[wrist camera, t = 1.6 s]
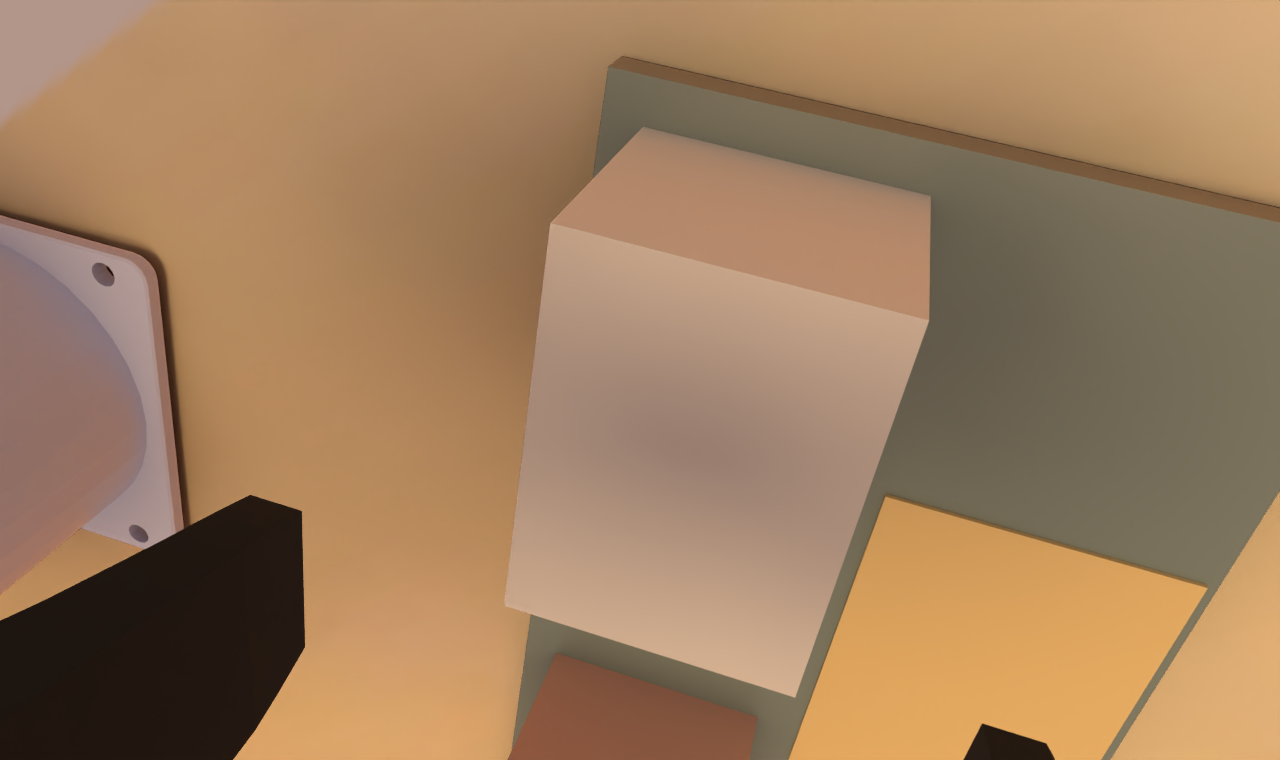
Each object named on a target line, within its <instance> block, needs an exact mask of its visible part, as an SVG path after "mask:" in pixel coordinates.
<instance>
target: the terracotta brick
mask: <svg viewBox="0 0 1280 760" xmlns="http://www.w3.org/2000/svg"><path fill="white" fill-rule="evenodd" d="M757 719H758V717H755V716H752V715H749V714H746V713H742V712H739V711H736V710H733V709H730V708H727V707H724V706H721V705H717V704H714V703H711V702H708V701H705V700H702V699H699V698H696V697H692V696H689V695H686V694H683V693H680V692H677V691H674V690H671V689H667V688H664V687H661V686H658V685H655V684H652V683H649V682H646V681H642V680H639V679H636V678H633V677H630V676H627V675H624V674H621V673H617V672H614V671H611V670H608V669H605V668H602V667H599V666H596V665H592V664H589V663H586V662H583V661H580V660H577V659H574V658H571V657H567V656H564V655H561V654H558V653H556V655H555V657H554V659H553V662H552V664H551V666H550V668H549V670H548V673H547V675H546V677H545V679H544V681H543V684H542V686H541V688H540V690H539V692H538V694H537V697H536V699H535V701H534V703H533V705H532V708H531V710H530V712H529V714H528V716H527V719H526V721H525V723H524V725H523V727H522V729H521V732H520V734H519V736H518V738H517V740H516V743H515V745H514V747H513V749H512V751H511V753H510V756H509V758H508V760H749V759H750V754H751V749H752V744H753V739H754V734H755V729H756V724H757Z"/></svg>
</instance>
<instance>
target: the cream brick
mask: <svg viewBox="0 0 1280 760" xmlns="http://www.w3.org/2000/svg"><path fill="white" fill-rule="evenodd" d="M930 220H931V196H929V195H925V194H921V193H917V192H912V191H908V190H904V189H900V188H896V187H892V186H887V185H883V184H879V183H875V182H871V181H867V180H862V179H858V178H854V177H850V176H846V175H842V174H837V173H833V172H829V171H825V170H821V169H817V168H812V167H808V166H804V165H800V164H796V163H792V162H787V161H783V160H779V159H775V158H771V157H767V156H763V155H758V154H754V153H750V152H746V151H742V150H738V149H733V148H729V147H725V146H721V145H717V144H713V143H708V142H704V141H700V140H696V139H692V138H688V137H683V136H679V135H675V134H671V133H667V132H663V131H658V130H654V129H650V128H646V127H642V128H641V129H640V131H639V132H638V133H637V134H636V135H635V136H634V137H633V138H632V139H631V140H630V141H629V142H628V143H627V144H626V145H625V146H624V147H623V148H622V149H621V150H620V151H619V152H618V153H617V154H616V155H615V156H614V157H613V158H612V160H611V161H610V162H609V163H608V164H607V165H606V166H605V167H604V168H603V169H602V170H601V171H600V172H599V173H598V174H597V175H596V176H595V177H594V178H593V179H592V180H591V181H590V182H589V183H588V184H587V185H586V186H585V187H584V189H583V190H582V191H581V192H580V193H579V194H578V195H577V196H576V197H575V198H574V199H573V200H572V201H571V202H570V203H569V204H568V205H567V206H566V207H565V208H564V209H563V210H562V211H561V212H560V213H559V214H558V215H557V216H556V218H555V219H554V220H553V221H552V222H551V223H550V229H549V238H548V246H547V254H546V262H545V271H544V279H543V287H542V295H541V304H540V312H539V320H538V328H537V337H536V345H535V353H534V362H533V370H532V378H531V386H530V395H529V403H528V411H527V419H526V428H525V436H524V444H523V452H522V461H521V469H520V477H519V486H518V494H517V502H516V510H515V519H514V527H513V535H512V543H511V552H510V560H509V568H508V576H507V585H506V593H505V601H504V606H506V607H510V608H513V609H516V610H519V611H522V612H525V613H529V614H532V615H535V616H538V617H541V618H544V619H548V620H551V621H554V622H557V623H560V624H563V625H567V626H570V627H573V628H576V629H579V630H582V631H586V632H589V633H592V634H595V635H598V636H601V637H605V638H608V639H611V640H614V641H617V642H620V643H624V644H627V645H630V646H633V647H636V648H639V649H643V650H646V651H649V652H652V653H655V654H658V655H662V656H665V657H668V658H671V659H674V660H677V661H681V662H684V663H687V664H690V665H693V666H696V667H700V668H703V669H706V670H709V671H712V672H716V673H719V674H722V675H725V676H728V677H731V678H735V679H738V680H741V681H744V682H747V683H750V684H754V685H757V686H760V687H763V688H766V689H769V690H773V691H776V692H779V693H782V694H785V695H788V696H792V697H796V694H797V691H798V688H799V685H800V682H801V680H802V677H803V674H804V671H805V668H806V666H807V663H808V660H809V657H810V654H811V652H812V649H813V646H814V643H815V640H816V637H817V635H818V632H819V629H820V626H821V623H822V621H823V618H824V615H825V612H826V609H827V607H828V604H829V601H830V598H831V595H832V592H833V590H834V587H835V584H836V581H837V578H838V576H839V573H840V570H841V567H842V564H843V562H844V559H845V556H846V553H847V550H848V547H849V545H850V542H851V539H852V536H853V533H854V531H855V528H856V525H857V522H858V519H859V517H860V514H861V511H862V508H863V505H864V502H865V500H866V497H867V494H868V491H869V488H870V486H871V483H872V480H873V477H874V474H875V472H876V469H877V466H878V463H879V460H880V458H881V455H882V452H883V449H884V446H885V443H886V441H887V438H888V435H889V432H890V429H891V427H892V424H893V421H894V418H895V415H896V413H897V410H898V407H899V404H900V401H901V398H902V396H903V393H904V390H905V387H906V384H907V382H908V379H909V376H910V373H911V370H912V368H913V365H914V362H915V359H916V356H917V353H918V351H919V348H920V345H921V342H922V339H923V337H924V334H925V331H926V328H927V325H928V323H929V297H930Z"/></svg>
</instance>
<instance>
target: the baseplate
mask: <svg viewBox="0 0 1280 760" xmlns="http://www.w3.org/2000/svg"><path fill="white" fill-rule="evenodd" d="M642 127H646V128H650V129H654V130H658V131H663V132H667V133H671V134H675V135H679V136H683V137H688V138H692V139H696V140H700V141H704V142H708V143H713V144H717V145H721V146H725V147H729V148H733V149H738V150H742V151H746V152H750V153H754V154H758V155H763V156H767V157H771V158H775V159H779V160H783V161H787V162H792V163H796V164H800V165H804V166H808V167H812V168H817V169H821V170H825V171H829V172H833V173H837V174H842V175H846V176H850V177H854V178H858V179H862V180H867V181H871V182H875V183H879V184H883V185H887V186H892V187H896V188H900V189H904V190H908V191H912V192H917V193H921V194H925V195H929V196H931V220H930V297H929V323H928V325H927V328H926V331H925V334H924V337H923V339H922V342H921V345H920V348H919V351H918V353H917V356H916V359H915V362H914V365H913V368H912V370H911V373H910V376H909V379H908V382H907V384H906V387H905V390H904V393H903V396H902V398H901V401H900V404H899V407H898V410H897V413H896V415H895V418H894V421H893V424H892V427H891V429H890V432H889V435H888V438H887V441H886V443H885V446H884V449H883V452H882V455H881V458H880V460H879V463H878V466H877V469H876V472H875V474H874V477H873V480H872V483H871V486H870V488H869V491H868V494H867V497H866V500H865V502H864V505H863V508H862V511H861V514H860V517H859V519H858V522H857V525H856V528H855V531H854V533H853V536H852V539H851V542H850V545H849V547H848V550H847V553H846V556H845V559H844V562H843V564H842V567H841V570H840V573H839V576H838V578H837V581H836V584H835V587H834V590H833V592H832V595H831V598H830V601H829V604H828V607H827V609H826V612H825V615H824V618H823V621H822V623H821V626H820V629H819V632H818V635H817V637H816V640H815V643H814V646H813V649H812V652H811V654H810V657H809V660H808V663H807V666H806V668H805V671H804V674H803V677H802V680H801V682H800V685H799V688H798V691H797V694H796V697H792V696H788V695H785V694H782V693H779V692H776V691H773V690H769V689H766V688H763V687H760V686H757V685H754V684H750V683H747V682H744V681H741V680H738V679H735V678H731V677H728V676H725V675H722V674H719V673H716V672H712V671H709V670H706V669H703V668H700V667H696V666H693V665H690V664H687V663H684V662H681V661H677V660H674V659H671V658H668V657H665V656H662V655H658V654H655V653H652V652H649V651H646V650H643V649H639V648H636V647H633V646H630V645H627V644H624V643H620V642H617V641H614V640H611V639H608V638H605V637H601V636H598V635H595V634H592V633H589V632H586V631H582V630H579V629H576V628H573V627H570V626H567V625H563V624H560V623H557V622H554V621H551V620H548V619H544V618H541V617H538V616H535V615H532V614H531V618H530V625H529V632H528V639H527V646H526V653H525V660H524V667H523V674H522V681H521V688H520V695H519V702H518V709H517V717H516V724H515V731H514V738H513V745H512V749H513V747H514V745H515V743H516V740H517V738H518V736H519V734H520V732H521V729H522V727H523V725H524V723H525V721H526V719H527V716H528V714H529V712H530V710H531V708H532V705H533V703H534V701H535V699H536V697H537V694H538V692H539V690H540V688H541V686H542V684H543V681H544V679H545V677H546V675H547V673H548V670H549V668H550V666H551V664H552V662H553V659H554V657H555V655H556V653H558V654H561V655H564V656H567V657H571V658H574V659H577V660H580V661H583V662H586V663H589V664H592V665H596V666H599V667H602V668H605V669H608V670H611V671H614V672H617V673H621V674H624V675H627V676H630V677H633V678H636V679H639V680H642V681H646V682H649V683H652V684H655V685H658V686H661V687H664V688H667V689H671V690H674V691H677V692H680V693H683V694H686V695H689V696H692V697H696V698H699V699H702V700H705V701H708V702H711V703H714V704H717V705H721V706H724V707H727V708H730V709H733V710H736V711H739V712H742V713H746V714H749V715H752V716H755V717H758V719H757V724H756V729H755V734H754V739H753V744H752V749H751V754H750V759H749V760H964V758H965V756H966V754H967V752H968V750H969V748H970V746H971V744H972V742H973V740H974V738H975V736H976V734H977V732H978V730H979V728H980V726H981V724H982V723H983V724H986V725H989V726H992V727H996V728H999V729H1002V730H1005V731H1008V732H1012V733H1015V734H1018V735H1021V736H1024V737H1028V738H1031V739H1034V740H1037V741H1040V742H1044V743H1046V744H1047V745H1048V747H1049V749H1050V751H1051V752H1052V754H1053V756H1054V758H1055V760H1110V759H1111V758H1112V756H1113V754H1114V753H1115V751H1116V750H1117V748H1118V747H1119V745H1120V743H1121V742H1122V740H1123V739H1124V737H1125V735H1126V734H1127V732H1128V731H1129V729H1130V727H1131V726H1132V724H1133V723H1134V721H1135V720H1136V718H1137V716H1138V715H1139V713H1140V712H1141V710H1142V708H1143V707H1144V705H1145V704H1146V702H1147V701H1148V699H1149V697H1150V696H1151V694H1152V693H1153V691H1154V689H1155V688H1156V686H1157V685H1158V683H1159V682H1160V680H1161V678H1162V677H1163V675H1164V674H1165V672H1166V670H1167V669H1168V667H1169V666H1170V664H1171V662H1172V661H1173V659H1174V658H1175V656H1176V655H1177V653H1178V651H1179V650H1180V648H1181V647H1182V645H1183V643H1184V642H1185V640H1186V639H1187V637H1188V636H1189V634H1190V632H1191V631H1192V629H1193V628H1194V626H1195V624H1196V623H1197V621H1198V620H1199V618H1200V616H1201V615H1202V613H1203V612H1204V610H1205V609H1206V607H1207V605H1208V604H1209V602H1210V601H1211V599H1212V597H1213V596H1214V594H1215V593H1216V591H1217V590H1218V588H1219V586H1220V585H1221V583H1222V582H1223V580H1224V578H1225V577H1226V575H1227V574H1228V572H1229V570H1230V569H1231V567H1232V566H1233V564H1234V563H1235V561H1236V559H1237V558H1238V556H1239V555H1240V553H1241V551H1242V550H1243V548H1244V547H1245V545H1246V544H1247V542H1248V540H1249V539H1250V537H1251V536H1252V534H1253V532H1254V531H1255V529H1256V528H1257V526H1258V525H1259V523H1260V521H1261V520H1262V518H1263V517H1264V515H1265V513H1266V512H1267V510H1268V509H1269V507H1270V505H1271V504H1272V502H1273V501H1274V499H1275V498H1276V496H1277V494H1278V493H1279V491H1280V208H1277V207H1272V206H1268V205H1264V204H1259V203H1255V202H1251V201H1246V200H1242V199H1238V198H1233V197H1229V196H1225V195H1220V194H1216V193H1212V192H1207V191H1203V190H1199V189H1194V188H1190V187H1186V186H1181V185H1177V184H1173V183H1168V182H1164V181H1160V180H1155V179H1151V178H1147V177H1142V176H1138V175H1134V174H1129V173H1125V172H1121V171H1116V170H1112V169H1108V168H1103V167H1099V166H1095V165H1090V164H1086V163H1082V162H1077V161H1073V160H1069V159H1064V158H1060V157H1056V156H1051V155H1047V154H1043V153H1038V152H1034V151H1030V150H1025V149H1021V148H1017V147H1012V146H1008V145H1004V144H999V143H995V142H991V141H986V140H982V139H978V138H973V137H969V136H965V135H960V134H956V133H952V132H948V131H943V130H939V129H935V128H930V127H926V126H922V125H917V124H913V123H909V122H904V121H900V120H896V119H891V118H887V117H883V116H878V115H874V114H870V113H865V112H861V111H857V110H852V109H848V108H844V107H839V106H835V105H831V104H826V103H822V102H818V101H813V100H809V99H805V98H800V97H796V96H792V95H787V94H783V93H779V92H774V91H770V90H766V89H761V88H757V87H753V86H748V85H744V84H740V83H735V82H731V81H727V80H722V79H718V78H714V77H709V76H705V75H701V74H696V73H692V72H688V71H683V70H679V69H675V68H670V67H666V66H662V65H657V64H653V63H649V62H644V61H640V60H636V59H631V58H627V57H623V56H622V57H621V58H619V59H618V60H617V61H615V62H614V63H613V64H611V65H610V66H608V73H607V80H606V87H605V94H604V101H603V108H602V115H601V123H600V130H599V137H598V144H597V151H596V158H595V165H594V172H593V178H594V177H595V176H596V175H597V174H598V173H599V172H600V171H601V170H602V169H603V168H604V167H605V166H606V165H607V164H608V163H609V162H610V161H611V160H612V158H613V157H614V156H615V155H616V154H617V153H618V152H619V151H620V150H621V149H622V148H623V147H624V146H625V145H626V144H627V143H628V142H629V141H630V140H631V139H632V138H633V137H634V136H635V135H636V134H637V133H638V132H639V131H640V129H641V128H642Z"/></svg>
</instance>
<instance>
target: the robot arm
mask: <svg viewBox="0 0 1280 760" xmlns="http://www.w3.org/2000/svg"><path fill="white" fill-rule="evenodd" d="M106 265H107V266H108V267H109V268H110V269H111V271H112V272H113V274H114V276H112V275H111V274H110V272H109V271H108V270H107V267H106ZM80 528H81V529H84V530H87V531H90V532H93V533H97V534H100V535H103V536H106V537H109V538H112V539H115V540H118V541H121V542H124V543H127V544H130V545H134V546H137V547H140V548H143V549H144V550H143V551H141V552H139V553H137V554H135V555H133V556H131V557H129V558H127V559H125V560H123V561H121V562H119V563H117V564H115V565H113V566H111V567H109V568H107V569H105V570H103V571H101V572H99V573H98V574H96V575H94V576H92V577H90V578H88V579H86V580H84V581H82V582H80V583H78V584H76V585H74V586H72V587H70V588H68V589H66V590H64V591H62V592H60V593H58V594H56V595H54V596H52V597H50V598H48V599H46V600H44V601H42V602H40V603H38V604H36V605H33V606H31V607H29V608H27V609H25V610H23V611H20V612H18V613H16V614H14V615H12V616H10V617H7V618H5V619H3V620H1V621H0V760H233V759H234V758H235V756H236V755H237V754H238V752H239V751H240V750H241V748H242V747H243V746H244V744H245V743H246V742H247V740H248V739H249V738H250V736H251V735H252V734H253V732H254V731H255V730H256V728H257V726H258V725H259V723H260V721H261V720H262V718H263V717H264V715H265V713H266V712H267V710H268V709H269V707H270V705H271V704H272V702H273V700H274V699H275V697H276V696H277V694H278V692H279V691H280V689H281V687H282V685H283V684H284V682H285V680H286V679H287V677H288V675H289V673H290V672H291V670H292V668H293V667H294V665H295V663H296V661H297V660H298V658H299V656H300V655H301V653H302V651H303V649H304V648H305V628H304V586H303V545H302V511H300V510H297V509H294V508H290V507H287V506H284V505H281V504H278V503H274V502H271V501H268V500H265V499H261V498H258V497H255V496H252V495H249V496H247V497H245V498H243V499H241V500H239V501H237V502H235V503H233V504H231V505H229V506H227V507H225V508H223V509H221V510H219V511H217V512H215V513H213V514H211V515H209V516H207V517H206V518H204V519H202V520H200V521H198V522H196V523H194V524H192V525H190V526H188V527H186V528H185V529H184V525H183V516H182V506H181V497H180V487H179V477H178V468H177V458H176V449H175V439H174V430H173V420H172V411H171V401H170V392H169V382H168V373H167V363H166V354H165V344H164V335H163V325H162V316H161V306H160V297H159V287H158V279H157V276H156V272H155V270H154V269H153V267H152V266H151V264H150V263H149V262H148V261H147V260H146V259H145V258H144V257H142V256H140V255H138V254H136V253H134V252H131V251H127V250H123V249H120V248H116V247H113V246H109V245H105V244H102V243H98V242H95V241H91V240H87V239H84V238H80V237H77V236H73V235H70V234H66V233H62V232H59V231H55V230H52V229H48V228H44V227H41V226H37V225H34V224H30V223H27V222H23V221H19V220H16V219H12V218H9V217H5V216H1V215H0V594H2V593H3V592H4V591H5V590H6V589H8V588H9V587H10V586H11V585H12V584H14V583H15V582H16V581H17V580H19V579H20V578H21V577H22V576H23V575H25V574H26V573H27V572H28V571H29V570H31V569H32V568H33V567H34V566H36V565H37V564H38V563H39V562H40V561H42V560H43V559H44V558H45V557H46V556H48V555H49V554H50V553H51V552H52V551H54V550H55V549H56V548H57V547H59V546H60V545H61V544H62V543H63V542H65V541H66V540H67V539H68V538H69V537H71V536H72V535H73V534H74V533H76V532H77V531H78V530H79V529H80ZM964 760H1055V758H1054V756H1053V754H1052V752H1051V751H1050V749H1049V747H1048V745H1047V744H1046V743H1044V742H1040V741H1037V740H1034V739H1031V738H1028V737H1024V736H1021V735H1018V734H1015V733H1012V732H1008V731H1005V730H1002V729H999V728H996V727H992V726H989V725H986V724H983V723H982V724H981V726H980V728H979V730H978V732H977V734H976V736H975V738H974V740H973V742H972V744H971V746H970V748H969V750H968V752H967V754H966V756H965V758H964Z"/></svg>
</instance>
